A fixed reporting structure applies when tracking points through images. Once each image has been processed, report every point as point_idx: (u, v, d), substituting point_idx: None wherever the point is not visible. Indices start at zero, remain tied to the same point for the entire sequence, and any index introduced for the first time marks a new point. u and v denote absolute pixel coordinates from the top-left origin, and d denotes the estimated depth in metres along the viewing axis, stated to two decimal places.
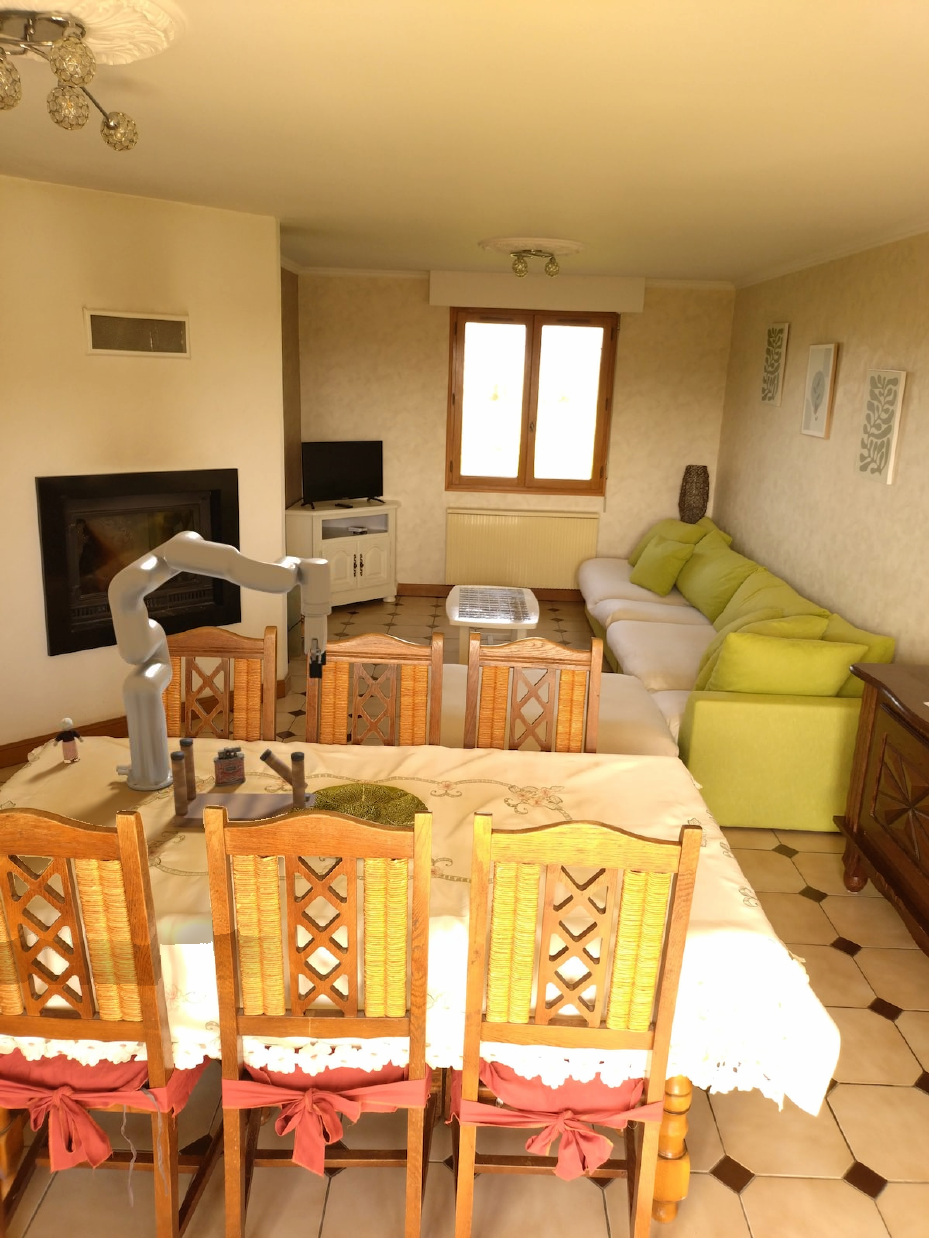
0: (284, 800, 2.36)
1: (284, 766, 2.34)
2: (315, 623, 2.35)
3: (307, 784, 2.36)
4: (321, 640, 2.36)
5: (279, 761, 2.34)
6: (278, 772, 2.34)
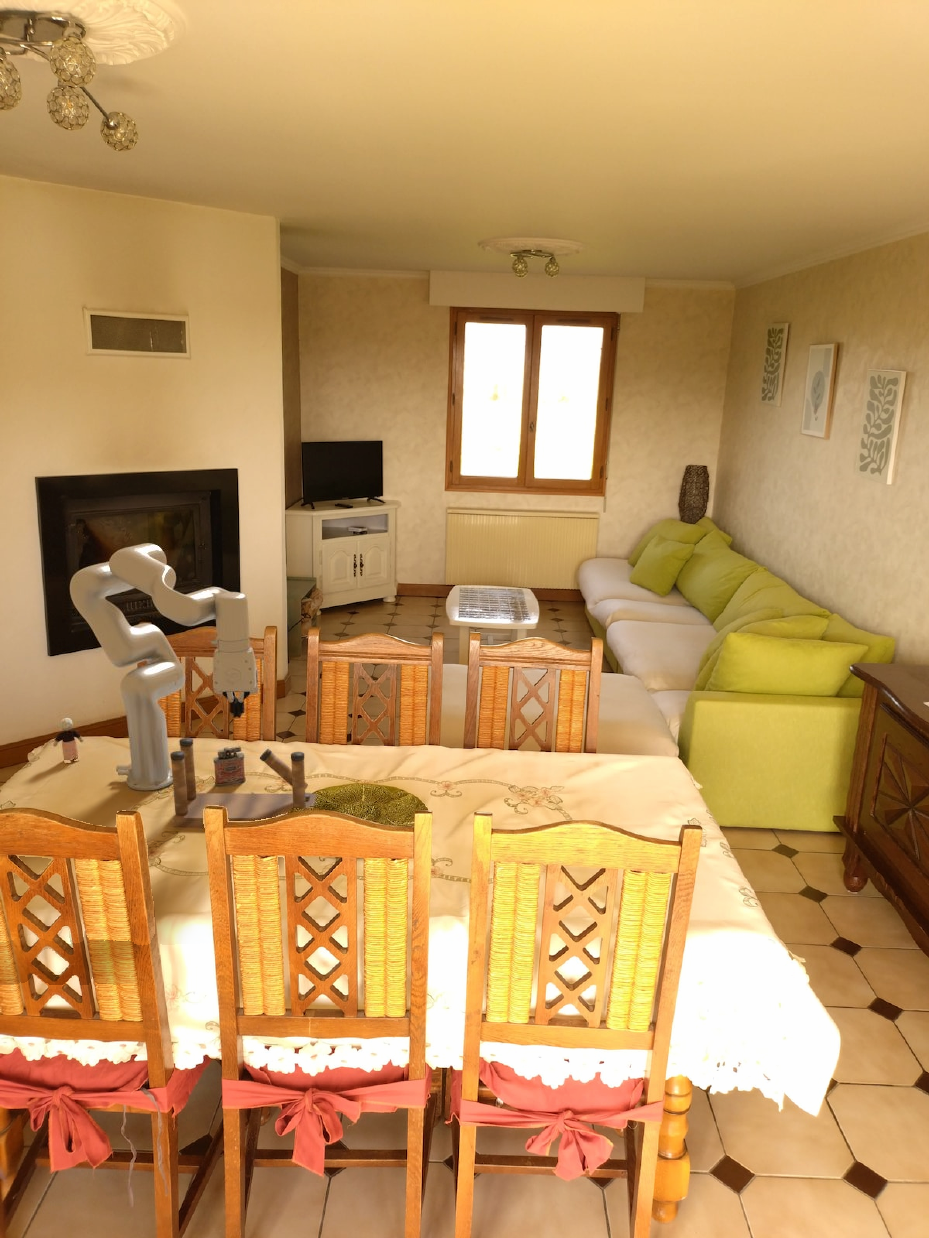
0: (284, 800, 2.36)
1: (284, 766, 2.34)
2: (254, 655, 2.27)
3: (307, 784, 2.36)
4: None
5: (279, 761, 2.34)
6: (278, 772, 2.34)
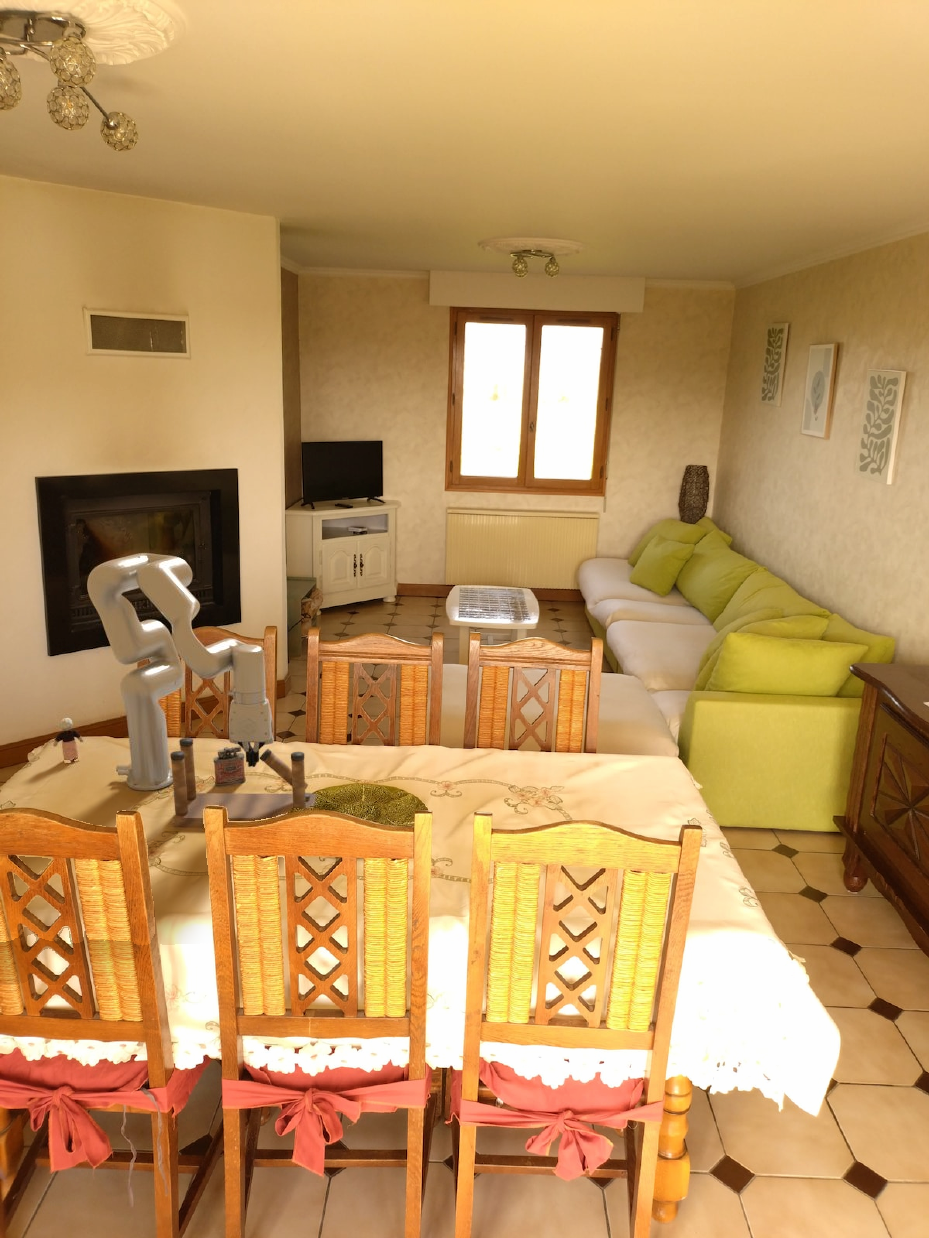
0: (284, 800, 2.36)
1: (284, 766, 2.34)
2: (269, 706, 2.30)
3: (307, 784, 2.36)
4: None
5: (279, 761, 2.34)
6: (278, 772, 2.34)
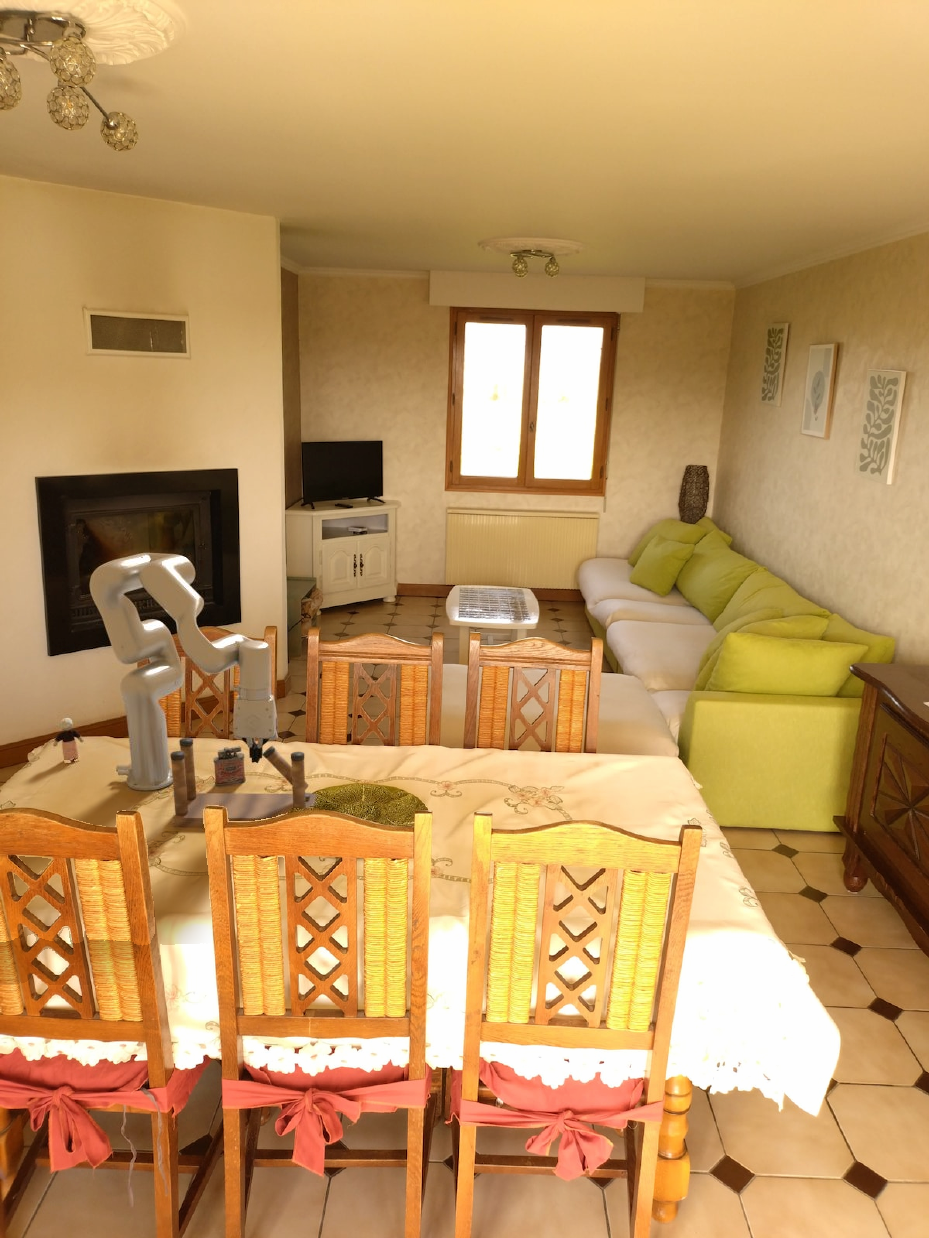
0: (284, 800, 2.36)
1: (286, 765, 2.34)
2: (274, 703, 2.30)
3: (307, 784, 2.36)
4: None
5: (282, 759, 2.34)
6: (280, 770, 2.33)
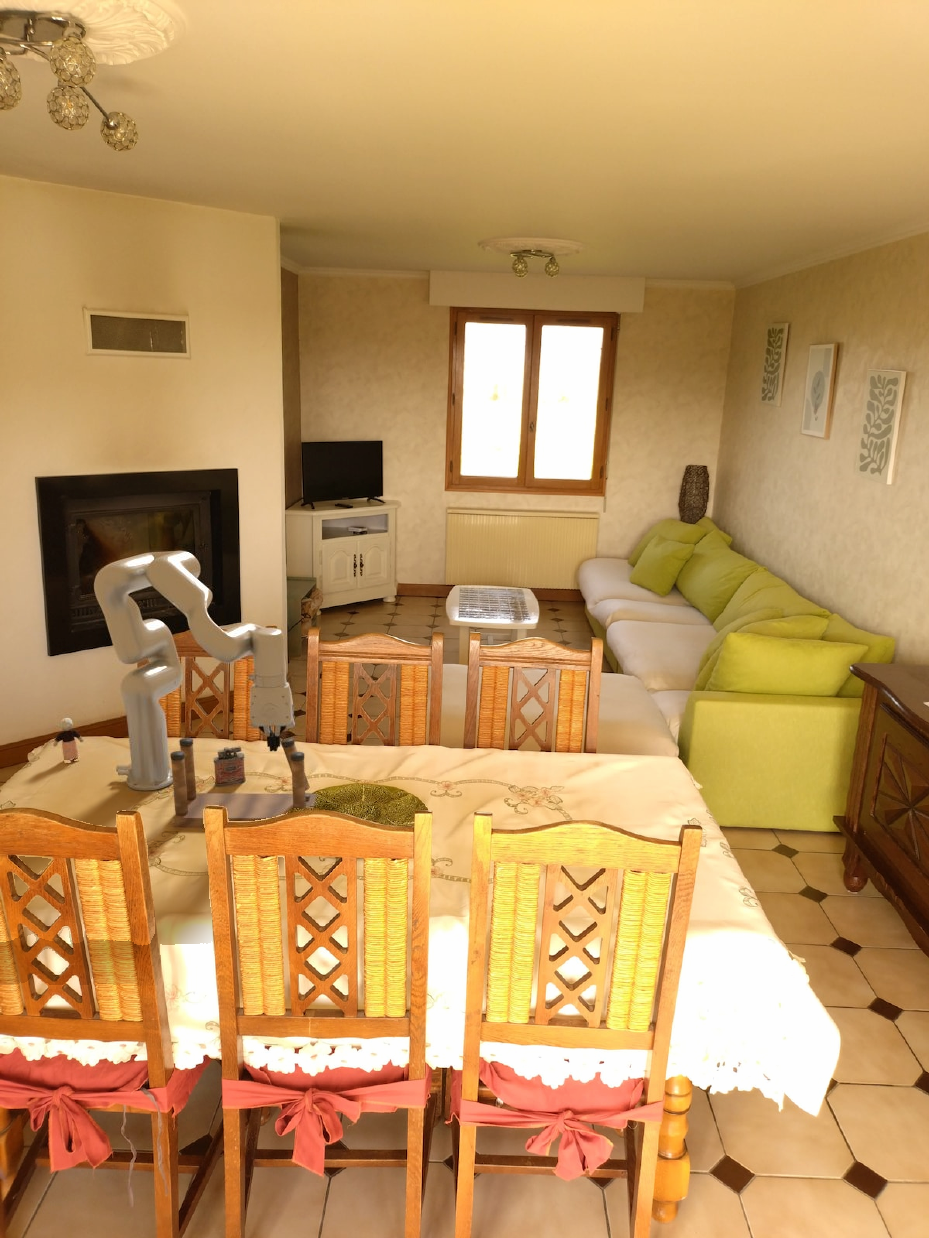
0: (284, 800, 2.36)
1: None
2: (290, 689, 2.29)
3: (309, 786, 2.36)
4: None
5: None
6: (291, 764, 2.33)
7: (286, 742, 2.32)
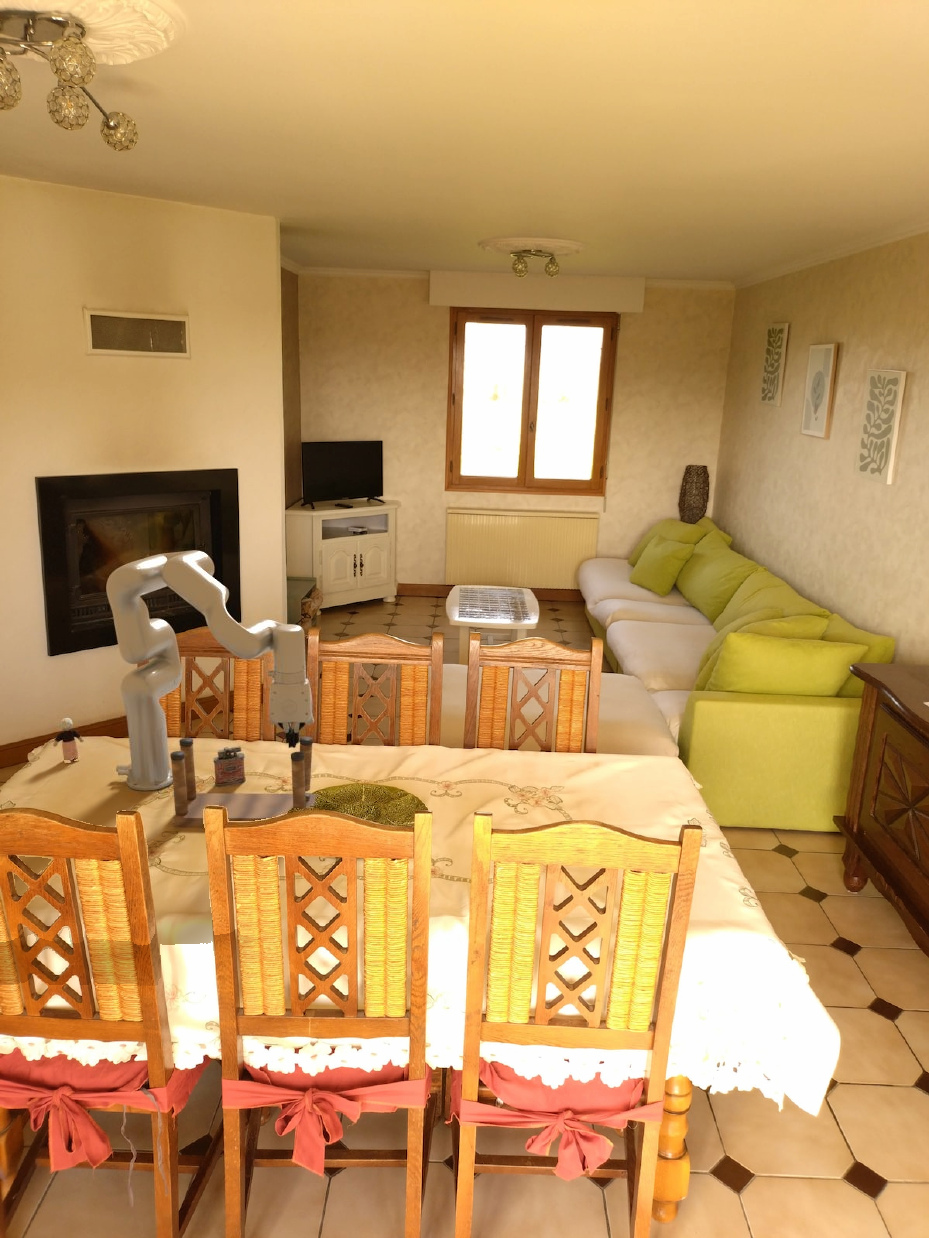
0: (284, 800, 2.36)
1: (310, 762, 2.34)
2: (309, 686, 2.29)
3: None
4: None
5: (310, 755, 2.33)
6: None
7: (305, 740, 2.32)
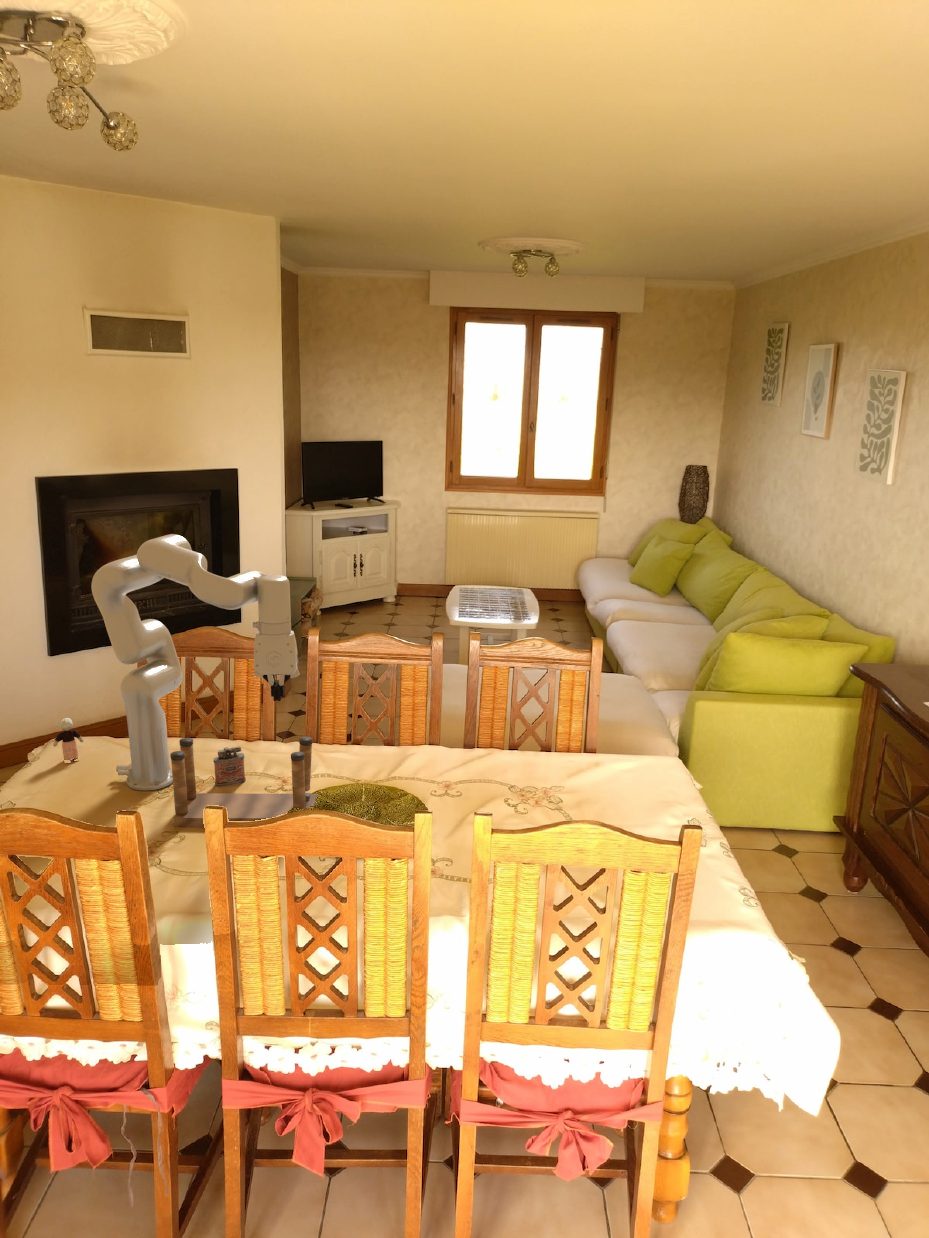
0: (284, 800, 2.36)
1: (310, 762, 2.34)
2: None
3: None
4: None
5: (310, 755, 2.33)
6: None
7: (305, 740, 2.32)
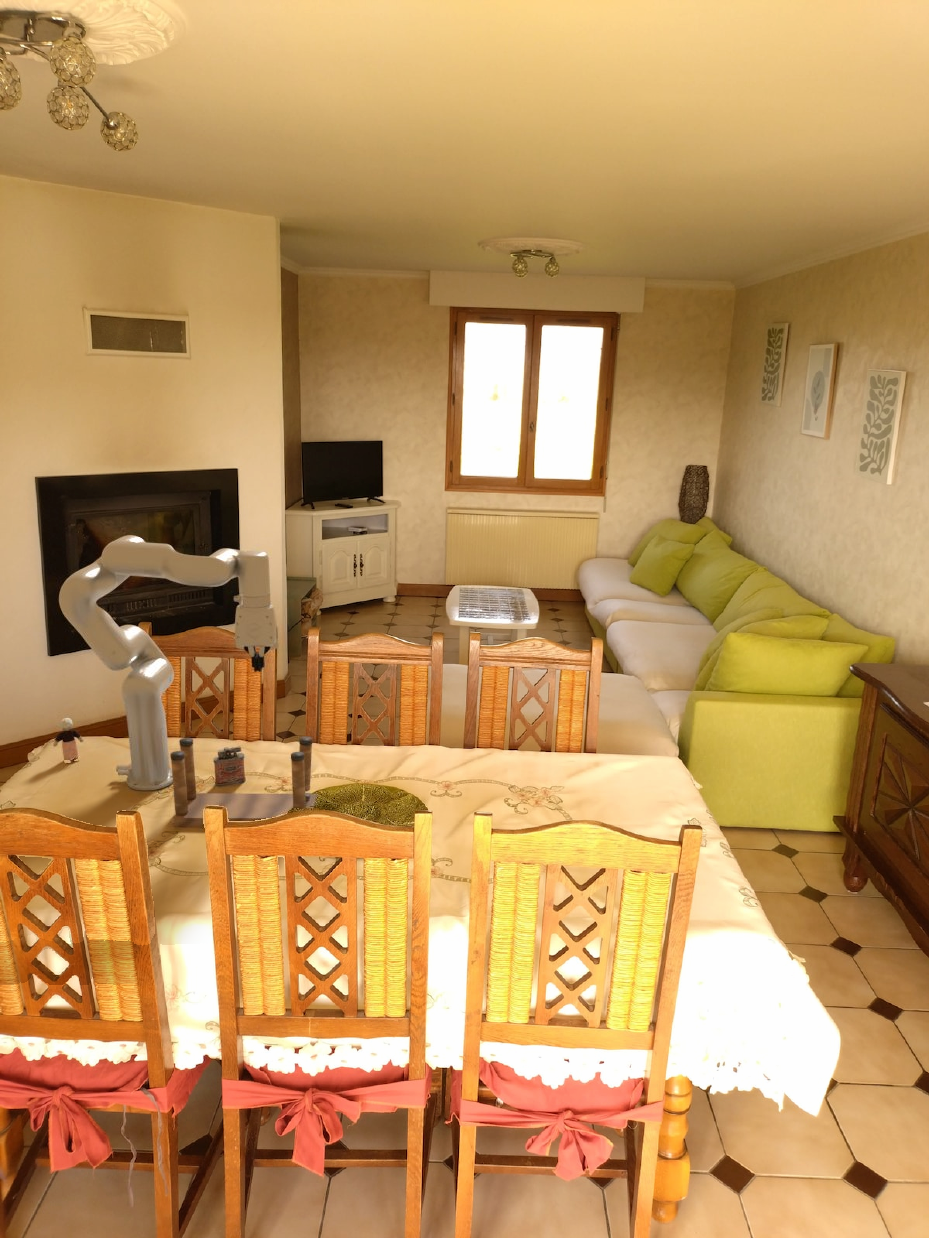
0: (284, 800, 2.36)
1: (310, 762, 2.34)
2: (274, 611, 2.37)
3: None
4: None
5: (310, 755, 2.33)
6: None
7: (305, 740, 2.32)
